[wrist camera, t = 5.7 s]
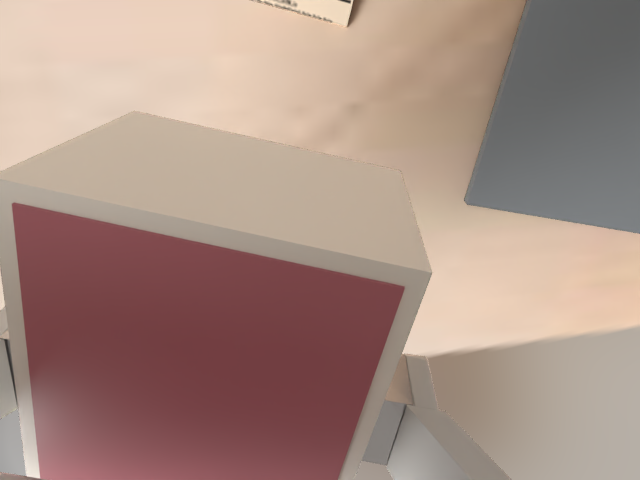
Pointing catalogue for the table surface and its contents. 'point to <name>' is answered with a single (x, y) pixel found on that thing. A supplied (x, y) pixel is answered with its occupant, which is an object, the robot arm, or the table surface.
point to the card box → (203, 304)
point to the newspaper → (316, 9)
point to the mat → (567, 117)
